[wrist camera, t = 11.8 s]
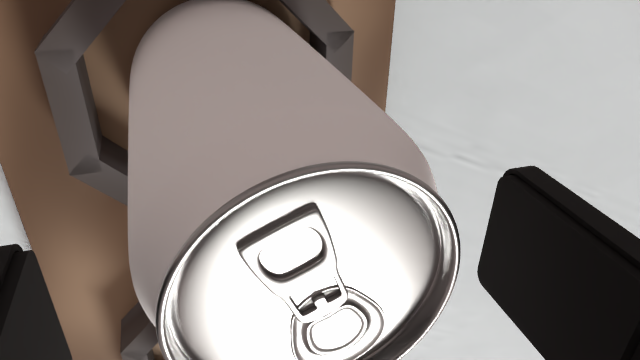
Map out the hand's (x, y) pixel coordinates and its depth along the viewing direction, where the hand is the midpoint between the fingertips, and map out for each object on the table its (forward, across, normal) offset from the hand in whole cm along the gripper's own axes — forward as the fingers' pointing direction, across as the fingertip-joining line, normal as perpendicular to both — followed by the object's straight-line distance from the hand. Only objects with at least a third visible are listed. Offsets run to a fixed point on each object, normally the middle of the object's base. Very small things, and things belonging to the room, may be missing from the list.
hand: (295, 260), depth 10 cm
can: (+11, 0, 0) cm, 11 cm away
